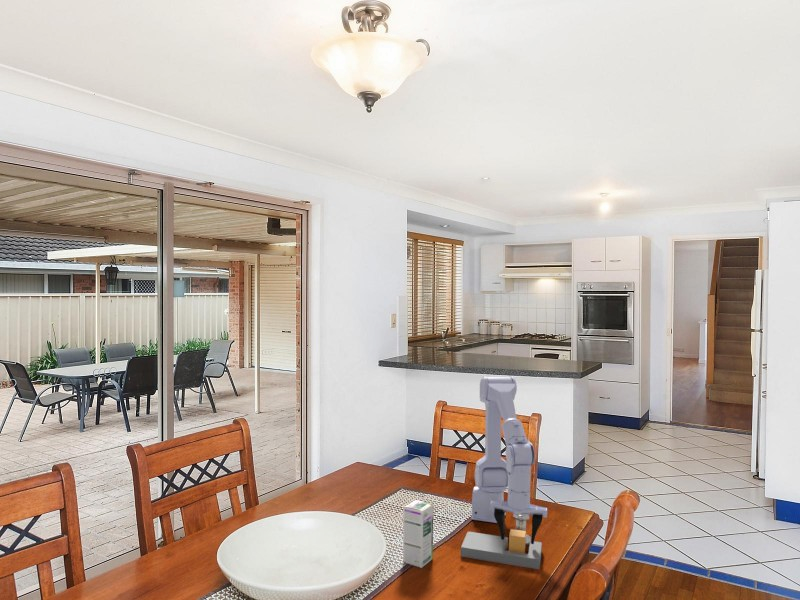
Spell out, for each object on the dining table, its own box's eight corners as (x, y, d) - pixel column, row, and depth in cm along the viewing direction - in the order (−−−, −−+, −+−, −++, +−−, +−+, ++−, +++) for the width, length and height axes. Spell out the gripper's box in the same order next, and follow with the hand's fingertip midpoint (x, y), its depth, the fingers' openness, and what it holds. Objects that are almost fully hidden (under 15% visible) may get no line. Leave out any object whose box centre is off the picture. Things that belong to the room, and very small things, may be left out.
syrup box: (422, 568, 141) (423, 511, 141) (402, 562, 144) (403, 505, 144) (433, 559, 146) (434, 503, 145) (413, 553, 149) (414, 498, 149)
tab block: (508, 558, 148) (509, 535, 148) (509, 551, 151) (510, 529, 151) (524, 560, 147) (525, 537, 146) (525, 553, 150) (525, 531, 150)
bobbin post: (508, 543, 156) (509, 517, 156) (510, 534, 162) (511, 509, 162) (530, 546, 154) (531, 520, 154) (532, 537, 160) (532, 512, 160)
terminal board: (460, 556, 148) (460, 547, 148) (467, 540, 157) (467, 531, 157) (539, 569, 142) (539, 559, 142) (541, 551, 151) (541, 542, 151)
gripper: (489, 490, 147) (487, 542, 147) (546, 497, 143) (545, 551, 143) (492, 481, 154) (491, 531, 154) (548, 488, 149) (546, 539, 150)
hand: (517, 540), depth 149 cm, fingers open, 7 cm apart
